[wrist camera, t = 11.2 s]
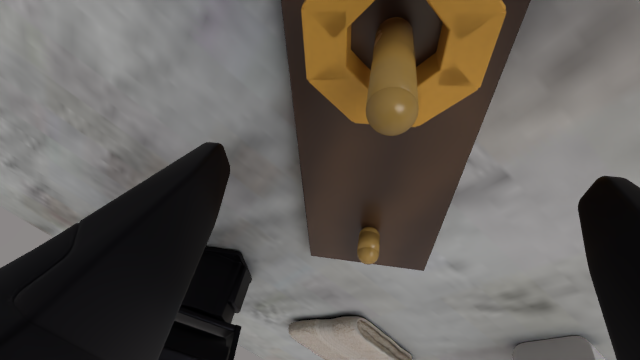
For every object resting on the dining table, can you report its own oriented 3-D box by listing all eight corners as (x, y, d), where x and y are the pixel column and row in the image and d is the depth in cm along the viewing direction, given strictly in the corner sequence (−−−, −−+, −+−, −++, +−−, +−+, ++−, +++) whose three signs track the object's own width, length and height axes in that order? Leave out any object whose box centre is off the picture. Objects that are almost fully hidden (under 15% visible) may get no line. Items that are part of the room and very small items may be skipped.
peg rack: (313, 244, 30) (293, 333, 24) (279, -87, 13) (187, -35, 7) (423, 258, 28) (428, 356, 23) (554, -95, 11) (701, -37, 6)
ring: (316, 101, 17) (309, 120, 16) (305, -73, 12) (294, -63, 11) (460, 109, 16) (465, 131, 15) (520, -78, 11) (535, -68, 10)
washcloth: (354, 360, 54) (352, 381, 52) (286, 317, 45) (280, 340, 43) (421, 359, 48) (422, 383, 46) (358, 309, 39) (356, 336, 37)
